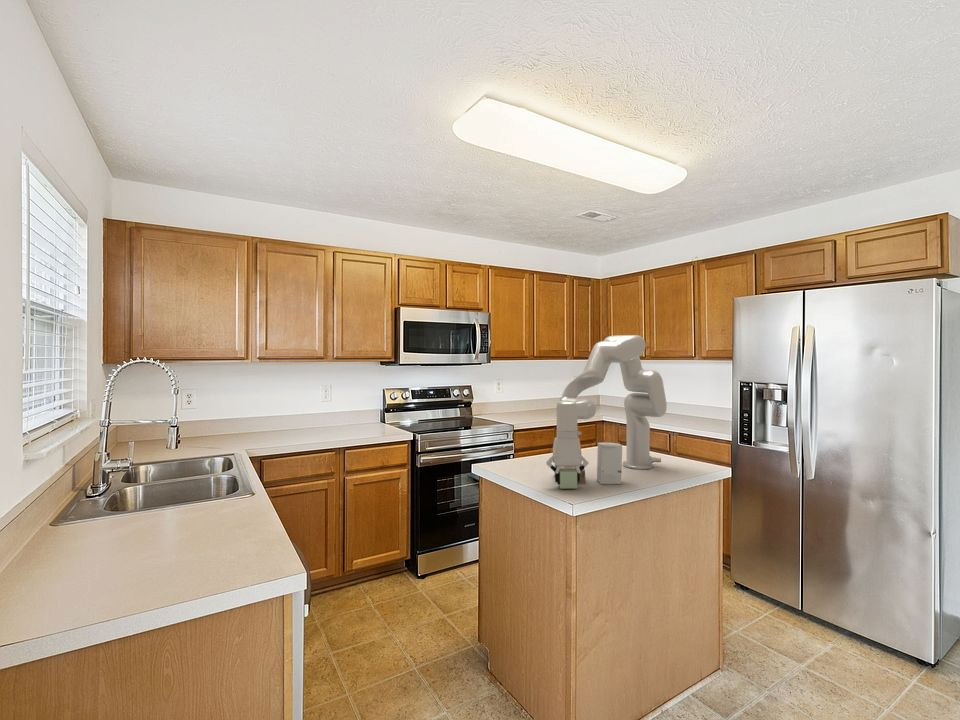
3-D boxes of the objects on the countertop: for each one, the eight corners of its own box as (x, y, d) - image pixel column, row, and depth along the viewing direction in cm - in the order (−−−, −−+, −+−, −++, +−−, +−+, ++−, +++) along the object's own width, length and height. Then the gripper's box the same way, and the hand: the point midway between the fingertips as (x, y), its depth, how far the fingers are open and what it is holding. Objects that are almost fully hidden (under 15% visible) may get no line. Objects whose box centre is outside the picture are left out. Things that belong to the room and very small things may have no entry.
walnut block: (582, 476, 193) (582, 464, 193) (585, 484, 182) (585, 471, 182) (554, 475, 194) (554, 463, 194) (555, 483, 184) (555, 470, 183)
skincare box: (600, 484, 181) (600, 445, 180) (596, 480, 187) (596, 441, 186) (622, 484, 181) (622, 444, 180) (618, 479, 187) (618, 441, 186)
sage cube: (574, 483, 180) (574, 467, 179) (577, 488, 174) (577, 471, 173) (558, 483, 180) (557, 467, 179) (560, 488, 174) (560, 472, 173)
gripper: (588, 432, 180) (588, 480, 180) (542, 433, 180) (542, 480, 180) (593, 436, 172) (593, 486, 173) (544, 436, 172) (545, 486, 173)
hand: (567, 482), depth 177 cm, fingers closed on sage cube, 6 cm apart
